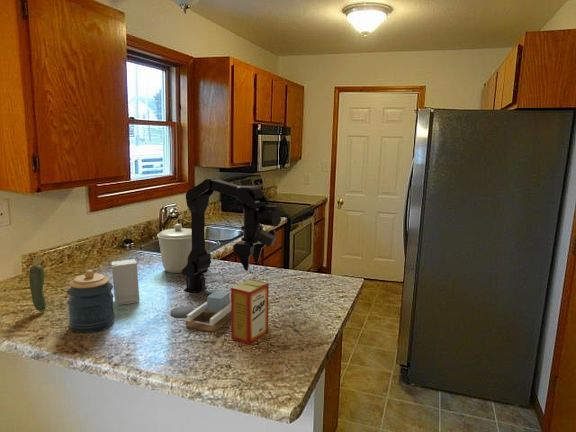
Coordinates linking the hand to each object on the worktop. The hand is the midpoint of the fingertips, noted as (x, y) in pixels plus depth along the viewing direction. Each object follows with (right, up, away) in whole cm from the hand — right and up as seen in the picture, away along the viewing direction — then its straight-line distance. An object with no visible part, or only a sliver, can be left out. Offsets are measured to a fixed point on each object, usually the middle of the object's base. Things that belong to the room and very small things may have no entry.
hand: (251, 266), depth 147 cm
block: (-10, -13, -7) cm, 18 cm away
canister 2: (-36, -7, +40) cm, 55 cm away
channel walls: (-12, -14, -12) cm, 22 cm away
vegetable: (-70, -15, -7) cm, 72 cm away
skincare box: (-45, -13, +3) cm, 47 cm away
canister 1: (-48, -16, -16) cm, 54 cm away
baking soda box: (+1, -18, -21) cm, 28 cm away
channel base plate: (-10, -15, -6) cm, 19 cm away
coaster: (-23, -15, -6) cm, 28 cm away
